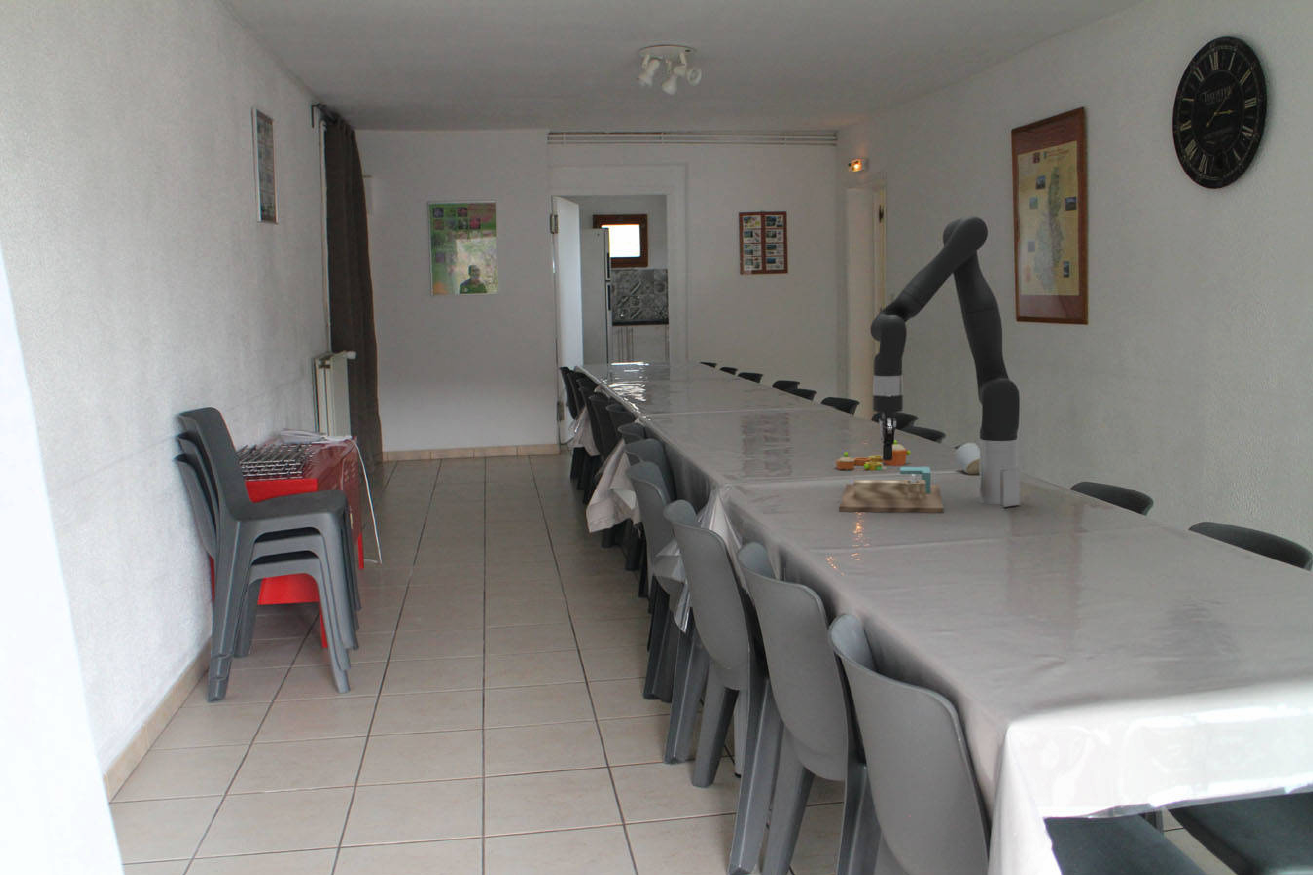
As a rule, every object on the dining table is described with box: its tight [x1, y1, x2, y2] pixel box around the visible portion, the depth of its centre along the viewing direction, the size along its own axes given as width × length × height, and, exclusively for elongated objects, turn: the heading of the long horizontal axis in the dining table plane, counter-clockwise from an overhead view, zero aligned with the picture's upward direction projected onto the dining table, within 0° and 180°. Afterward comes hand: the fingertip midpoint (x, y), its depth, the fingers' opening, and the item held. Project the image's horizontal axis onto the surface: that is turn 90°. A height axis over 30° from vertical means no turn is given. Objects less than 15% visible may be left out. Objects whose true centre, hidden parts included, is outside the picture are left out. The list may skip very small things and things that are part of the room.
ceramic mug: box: [954, 442, 980, 475], centre depth 315 cm, size 11×8×8 cm
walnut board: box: [839, 484, 944, 514], centre depth 277 cm, size 26×36×1 cm
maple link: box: [853, 479, 925, 499], centre depth 275 cm, size 18×6×4 cm, turn 77°
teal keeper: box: [899, 466, 931, 493], centre depth 285 cm, size 8×12×6 cm
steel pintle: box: [910, 474, 918, 483], centre depth 274 cm, size 2×2×6 cm
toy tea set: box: [835, 439, 912, 471], centre depth 331 cm, size 26×16×10 cm, turn 134°
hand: (887, 460), depth 267 cm, fingers closed
